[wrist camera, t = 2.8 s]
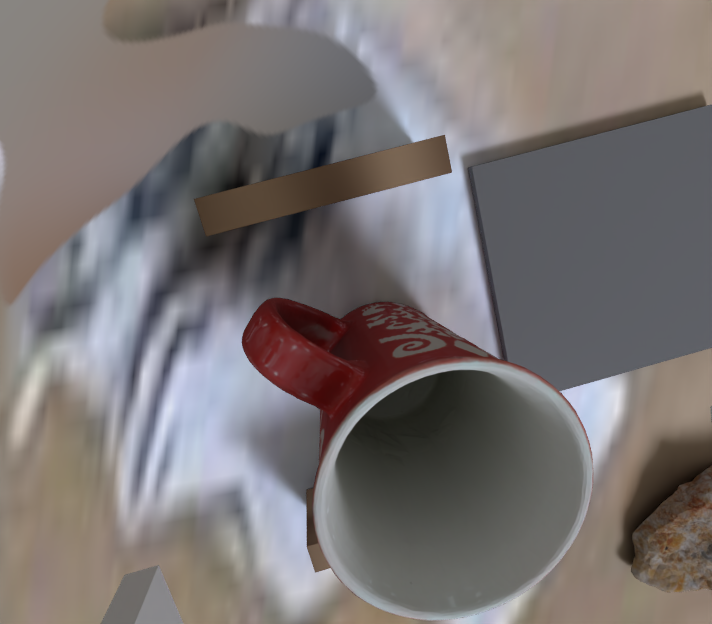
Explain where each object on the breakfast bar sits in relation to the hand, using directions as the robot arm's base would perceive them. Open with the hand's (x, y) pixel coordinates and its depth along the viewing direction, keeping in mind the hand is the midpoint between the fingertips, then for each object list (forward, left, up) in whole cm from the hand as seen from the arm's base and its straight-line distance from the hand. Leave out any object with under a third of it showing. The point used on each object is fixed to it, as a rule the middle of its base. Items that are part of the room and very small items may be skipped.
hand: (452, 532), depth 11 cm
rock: (+19, -19, -17) cm, 32 cm away
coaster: (+15, +1, -17) cm, 22 cm away
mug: (0, 0, -17) cm, 17 cm away
